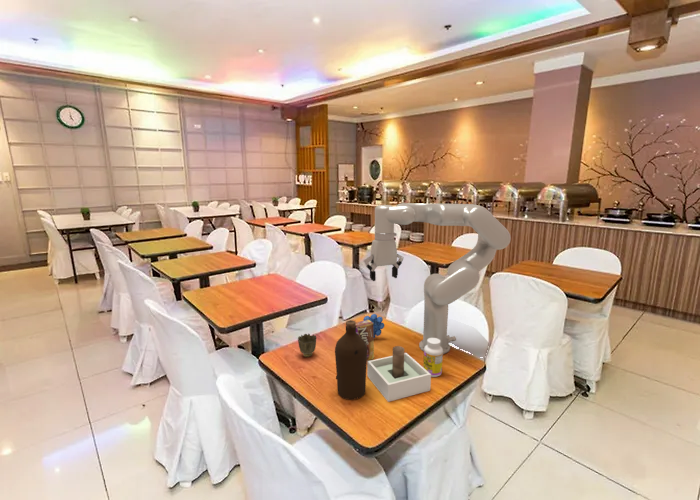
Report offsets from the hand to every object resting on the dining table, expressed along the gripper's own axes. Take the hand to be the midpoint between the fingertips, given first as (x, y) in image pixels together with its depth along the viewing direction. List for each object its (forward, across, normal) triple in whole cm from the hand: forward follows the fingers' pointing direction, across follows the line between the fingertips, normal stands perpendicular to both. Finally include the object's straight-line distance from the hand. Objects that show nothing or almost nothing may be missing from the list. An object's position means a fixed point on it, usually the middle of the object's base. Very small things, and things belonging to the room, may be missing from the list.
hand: (383, 278), depth 144 cm
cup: (+31, +31, -6) cm, 44 cm away
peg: (+29, +7, +25) cm, 39 cm away
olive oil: (+31, +24, +23) cm, 45 cm away
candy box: (+31, +12, +5) cm, 33 cm away
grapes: (+31, +1, -10) cm, 32 cm away
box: (+30, +7, +25) cm, 40 cm away
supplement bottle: (+31, -8, +24) cm, 40 cm away
